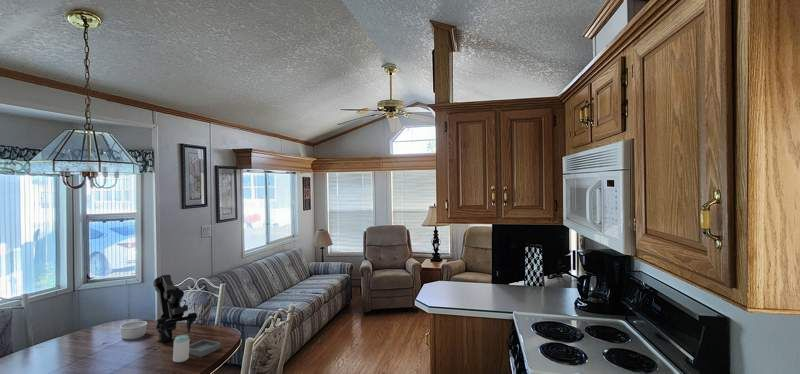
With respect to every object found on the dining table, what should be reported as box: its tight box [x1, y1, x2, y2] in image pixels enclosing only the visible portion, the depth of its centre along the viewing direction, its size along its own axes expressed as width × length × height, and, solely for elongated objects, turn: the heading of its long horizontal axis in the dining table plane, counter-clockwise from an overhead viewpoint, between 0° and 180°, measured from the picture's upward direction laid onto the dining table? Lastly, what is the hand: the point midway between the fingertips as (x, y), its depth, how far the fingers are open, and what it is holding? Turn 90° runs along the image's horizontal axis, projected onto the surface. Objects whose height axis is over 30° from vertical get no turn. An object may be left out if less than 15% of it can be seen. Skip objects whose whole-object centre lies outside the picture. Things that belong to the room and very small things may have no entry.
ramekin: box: [119, 320, 148, 340], centre depth 220 cm, size 13×13×7 cm
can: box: [172, 334, 191, 363], centre depth 191 cm, size 7×7×12 cm
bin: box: [189, 339, 222, 358], centre depth 203 cm, size 13×13×3 cm
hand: (179, 334), depth 194 cm, fingers open, 9 cm apart
